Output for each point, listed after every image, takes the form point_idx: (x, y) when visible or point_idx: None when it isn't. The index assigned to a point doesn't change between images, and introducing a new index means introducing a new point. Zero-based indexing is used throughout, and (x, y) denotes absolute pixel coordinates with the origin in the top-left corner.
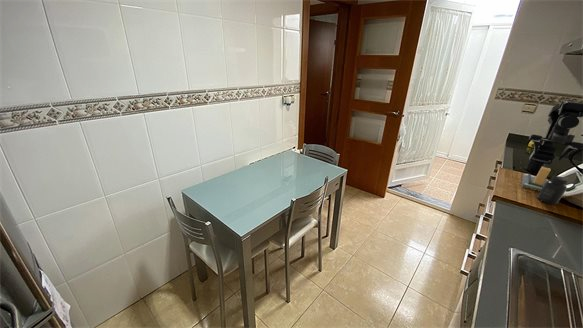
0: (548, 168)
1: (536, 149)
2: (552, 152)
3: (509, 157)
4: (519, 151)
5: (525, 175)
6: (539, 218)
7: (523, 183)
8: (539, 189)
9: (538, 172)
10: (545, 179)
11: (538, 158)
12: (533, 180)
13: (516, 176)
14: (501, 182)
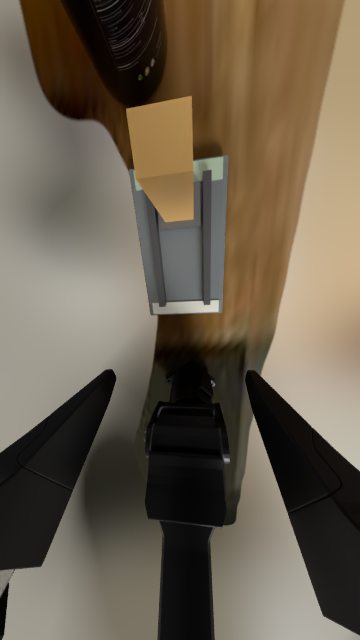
0: (146, 161)
1: (287, 416)
2: (156, 463)
3: (246, 434)
4: None
5: (216, 295)
6: None
7: (227, 169)
8: None
9: (193, 199)
10: (157, 287)
11: (198, 410)
12: (191, 261)
13: (238, 285)
14: (313, 123)
